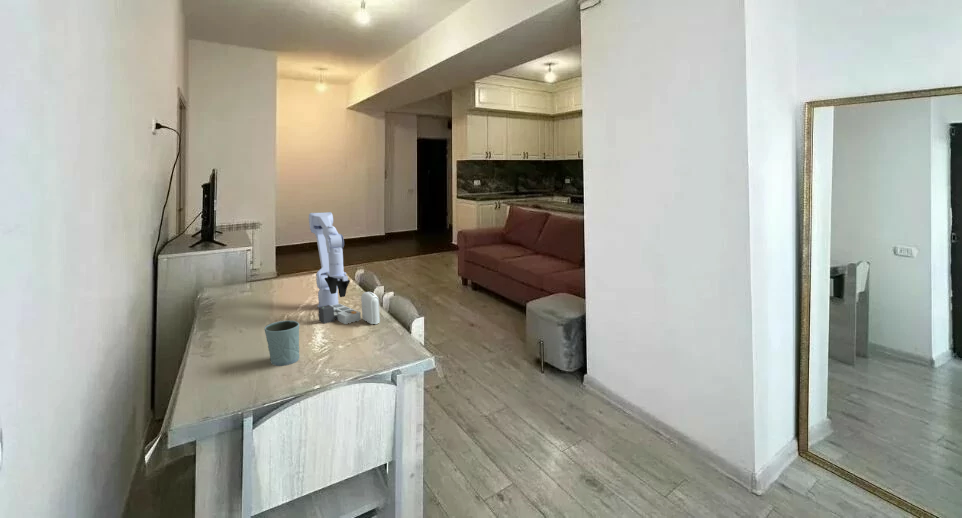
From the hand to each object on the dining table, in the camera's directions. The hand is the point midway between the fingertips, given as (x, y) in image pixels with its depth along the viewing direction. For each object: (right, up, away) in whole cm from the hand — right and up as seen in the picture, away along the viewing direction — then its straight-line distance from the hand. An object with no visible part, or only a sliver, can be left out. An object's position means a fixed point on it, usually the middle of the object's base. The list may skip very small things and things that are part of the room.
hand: (337, 295), depth 185 cm
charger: (-3, -10, -3) cm, 11 cm away
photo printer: (+15, -11, -3) cm, 19 cm away
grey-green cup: (-3, -18, -42) cm, 46 cm away
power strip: (+2, -10, +1) cm, 10 cm away
